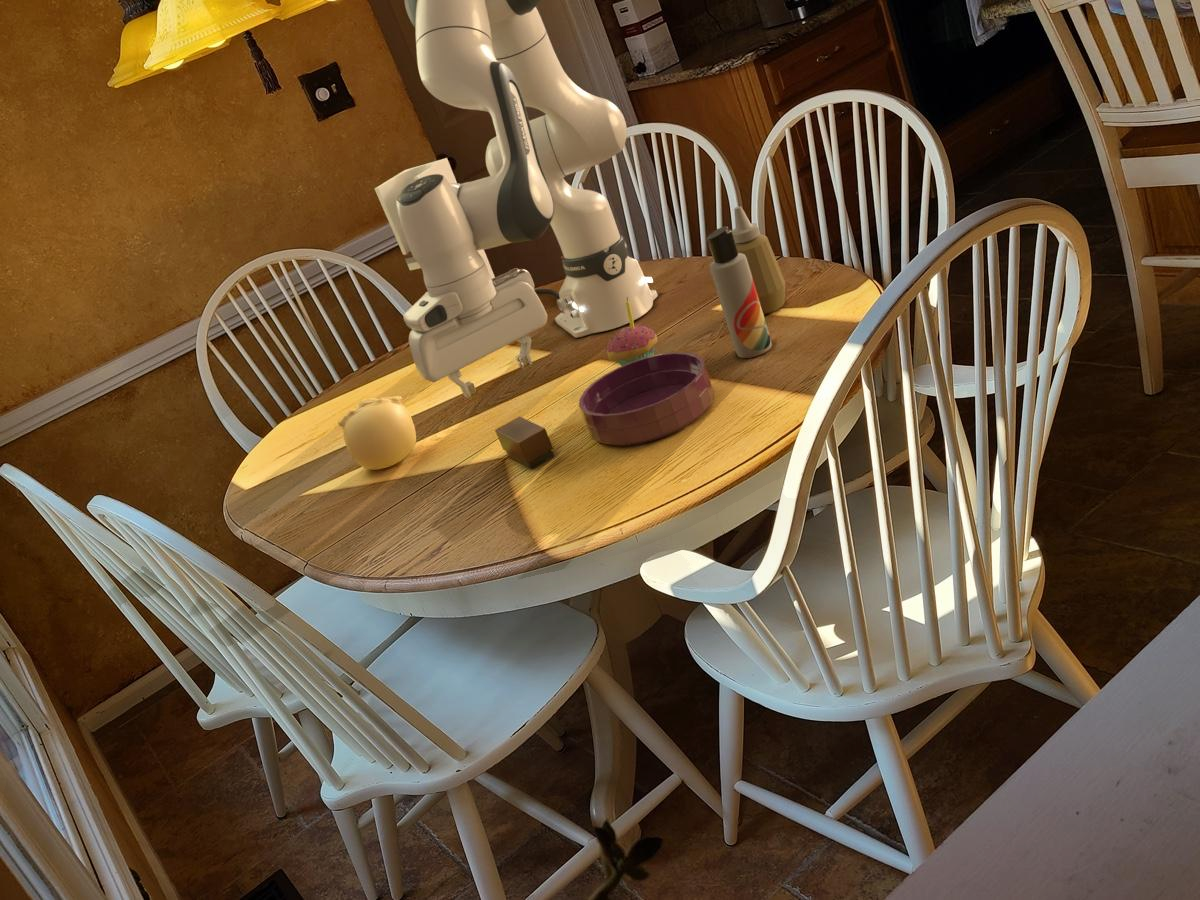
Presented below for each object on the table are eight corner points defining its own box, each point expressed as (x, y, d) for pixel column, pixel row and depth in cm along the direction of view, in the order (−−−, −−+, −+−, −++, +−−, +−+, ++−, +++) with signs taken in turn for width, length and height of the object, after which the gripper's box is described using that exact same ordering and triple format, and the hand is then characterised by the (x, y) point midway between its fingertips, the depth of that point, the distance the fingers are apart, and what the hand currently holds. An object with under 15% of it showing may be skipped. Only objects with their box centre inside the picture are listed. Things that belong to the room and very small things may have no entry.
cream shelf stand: (470, 326, 238) (405, 169, 224) (511, 318, 233) (446, 157, 219) (444, 349, 229) (374, 188, 215) (486, 342, 224) (417, 176, 210)
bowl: (569, 432, 169) (557, 400, 167) (670, 375, 175) (659, 344, 173) (632, 461, 153) (619, 426, 150) (741, 397, 159) (730, 363, 157)
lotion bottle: (774, 351, 170) (738, 228, 162) (738, 362, 170) (700, 241, 162) (770, 338, 175) (734, 219, 167) (735, 349, 176) (698, 231, 168)
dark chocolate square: (505, 456, 169) (494, 429, 167) (530, 442, 171) (519, 416, 169) (530, 470, 161) (519, 442, 160) (556, 455, 163) (545, 428, 161)
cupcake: (646, 353, 187) (623, 288, 183) (675, 359, 180) (652, 292, 176) (606, 377, 184) (582, 311, 179) (634, 384, 177) (610, 316, 172)
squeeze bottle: (792, 293, 189) (764, 193, 182) (789, 311, 182) (760, 208, 175) (746, 305, 192) (716, 206, 184) (742, 323, 185) (710, 221, 177)
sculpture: (421, 433, 190) (396, 378, 186) (426, 458, 179) (399, 400, 175) (358, 459, 190) (331, 404, 185) (359, 486, 179) (331, 428, 174)
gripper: (516, 261, 161) (549, 346, 167) (392, 321, 154) (431, 408, 160) (535, 264, 156) (568, 352, 161) (407, 327, 149) (446, 416, 155)
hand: (499, 380), depth 161 cm, fingers open, 8 cm apart
